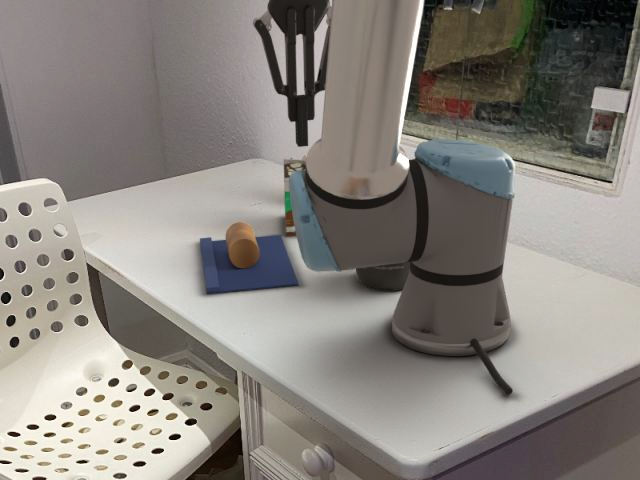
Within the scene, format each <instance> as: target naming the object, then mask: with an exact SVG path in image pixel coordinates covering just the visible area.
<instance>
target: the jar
mask: <svg viewBox="0 0 640 480" xmlns="http://www.w3.org/2000/svg"><path fill="white" fill-rule="evenodd" d="M409 267H410V262H406V263H396V264H388V265H380V266H372V267H364V268H356V269H355V273H356V277H357V280H358V281H359V283H360V284H361V285H362V286H364V287H366V288H368V289H372V290H374V291H375V290H376V291H385V292H387V291H390V292H391V291H399V290H403V288H404V285H405V283H406V280H407V278H408V275H409Z"/></svg>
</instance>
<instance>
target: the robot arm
mask: <svg viewBox="0 0 640 480" xmlns="http://www.w3.org/2000/svg"><path fill="white" fill-rule="evenodd" d="M425 1H426V0H331V2H330V0H268V3H267V6H266V7H267V10H266V11H264V13H262V14H261V15H260V16H259V17H255V18H254V19H253V21H252V26H253V27H254V29H255V30H256V32H257V34H258V35H259V36H260V39H261V42H262V46H263V50H264V54H265V58H266V62H267V66H268V69H269V73H270V77H271V80H272V84H273V88H274V90H275V92H276V94H278V95H280V96H285V97H286V102H287V103H286V104H287V118H288V119H289V120H288V121H289V122H290V123H294V127H295V130H294V131H295V144H296V146H297V148H298V147H299V148H303V147H309V121H314V119H315V117H316V115H315V114H316V112H315V111H316V110H315V109H316V108H315V107H316V105H315V104H316V103H315V102H316V101H315V99H316V95H317V94H318V93H321V92H324V97H323V110H322V111H323V112H322V123H321V135H320V138H318V139H317V140H316V141H315V142H314V143H313V144H312V145H311V146H310V148H309V149H308V151H307V153H306V157H307V158H306V168H305V170H302V169H299V170H298V171H295V172H293V173H291V175H290V178H289V192H290V200H291V207H292V214H293V220H294V225H295V230H296V235H295V236H296V240H297V242H298V249H299V253H300V255H301V258H302V261H303V263H304V265H305V266H306V267H307V268H308V269H309V270H310V271H313V272H319V273H320V272H336V273H337V272H342V271H348V270H356V268H364V267H372V266H380V265H388V264H396V263H406V262H410V267H409V275H408V278H407V280H406V283H405V285H404V288H403V289H401V290H402V291H401V293H400V295H399V298H398V301H397V303H396V305H395V308H394V310H393V314H392V320H391V321H392V322H391V332H392V336H393V337H394V338H395V339H396V340H397V341H398V342H399V343H401V344H402V345H404V346H406V347H407V348H409V349H411V350H413V351H414V350H415V351H418V352H421V353H424V354H430V355H434V356H443V357H466V356H473V355H477V356H478V358H479V359H480V360H481V362H482V364H483V365H484V367H485V368H486V369H487V372H488V373H489V375H490V376H491V378H492V380H493V381H494V382H495V384H496V385H497V386H498V387H499V389H500V390H501V391H502V392H503V393H504V394H505V395H507V396H509V395H511V394H512V393H513V391H514V390H513V388H512V387H511V386H510V385H509V384H508V383H507V382H506V380H505V379H504V378H503V377H502V376H501V374H500V373H499V371H498V370H497V368H496V367H495V365H494V363H493V362H492V360H491V358H490V357H489V355H488V353H486V352H490V351H493V350H494V349H495V350H496V349H497V348H499V347H500V346H501V345H503V344H504V343H505V342H507V340H508V338H509V336H510V330H511V322H512V320H511V313H510V308H509V303H508V299H507V294H506V293H507V292H506V289H505V284H504V279H503V274H504V273H503V272H504V264H505V259H506V250H507V243H508V236H509V231H510V229H509V228H510V222H511V216H512V207H513V201H514V199H515V194H516V193H515V178H516V177H515V176H516V164H515V162H514V160H513V158H512V157H511V156H510V155H509V154H508V153H507V152H505V151H503V150H502V149H499V148H497V147H495V146H492V145H487V144H484V143H480V142H476V141H475V142H474V141H469V140H462V139H448V138H443V139H441V138H440V139H439V138H437V139H429V140H427V141H421V142H420V143H419V144H418V145H417V146H416V148H415V150H414V159H413V158H412V159H409V157H408V155H407V153H406V151H405V150H404V149H403V147H402V146H401V139H402V134H403V133H402V132H403V130H404V129H403V128H404V123H405V117H406V111H407V105H408V99H409V93H410V87H411V81H412V77H413V71H414V67H415V66H414V65H415V59H416V54H417V47H418V42H419V36H420V31H421V25H422V19H423V13H424V8H425ZM325 16H326V20H325V23H326V25H327V28H326V31H325V37H324V40H323V41H324V42H323V46H322V51H321V57H320V62H319V67H318V72H317V77H316V78H315V76H316V75H315V73H316V71H315V40H316V39H315V38H316V37H315V35H316V34H315V32H316V31H317V30H318V28H319V27H320V25H321V23H322V21H323V19H324V18H325ZM272 20H273V21H274V23H275V24H276V26H277V27H278V28H279V30H280V32H281V33H283V34H284V49H285V52H284V53H285V55H284V56H285V83H286V84H284V80H283V77H282V73H281V70H280V66H279V62H278V61H279V60H278V58H277V57H278V56H277V54H276V50H275V47H274V42H273V39H272V35H271V33H270V31H272V28H273V27H272V23H271V21H272ZM299 35H301V37H302V54H303V55H302V56H303V58H302V59H303V60H302V61H303V90H304V94H298V77H297V76H298V75H297V74H298V73H297V71H298V70H297V36H299Z"/></svg>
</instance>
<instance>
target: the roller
mask: <svg viewBox="0 0 640 480" xmlns="http://www.w3.org/2000/svg"><path fill="white" fill-rule="evenodd" d="M224 237H225V240H226V244H227V248H228V253H229V258H230V260H231V262H232V263H233V265H235V266H236V267H238V268H242V269H246V268H250V267H252V266H253V265H254V264H255V263H256V262H257V260H258V258H259V248H258V245H257V241H256V238H255V237H256V234H255V232H254V229H253V228H252V226H251V225H249V224H248V223H246V222H243V221H237V222H234V223H232V224H231V225H230V226H229V227H228V228H227V230H226V231H225V236H224Z"/></svg>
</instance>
